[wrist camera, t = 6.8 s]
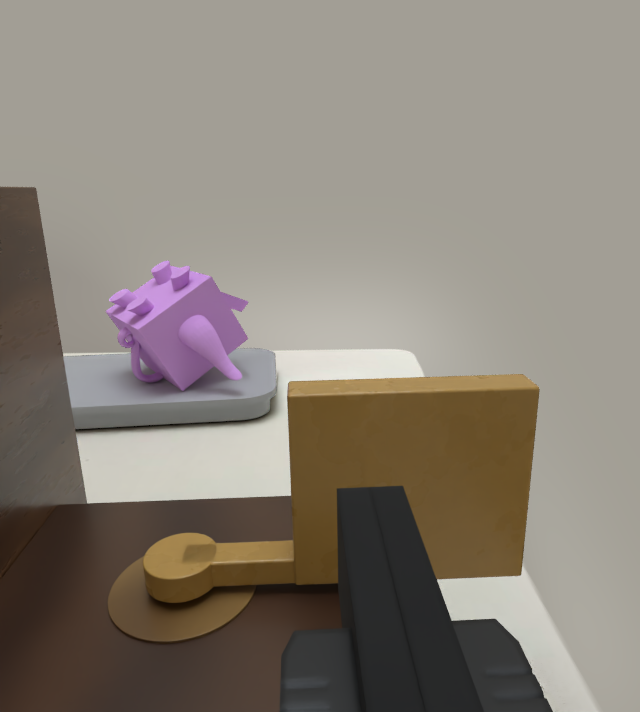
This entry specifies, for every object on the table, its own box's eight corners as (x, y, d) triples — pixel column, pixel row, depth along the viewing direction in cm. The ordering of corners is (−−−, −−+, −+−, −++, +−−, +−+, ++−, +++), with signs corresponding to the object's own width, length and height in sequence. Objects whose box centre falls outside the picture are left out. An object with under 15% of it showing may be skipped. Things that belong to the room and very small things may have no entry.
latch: (502, 542, 21) (517, 367, 19) (529, 588, 19) (549, 394, 17) (156, 556, 21) (133, 379, 19) (136, 605, 18) (108, 408, 16)
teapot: (174, 234, 60) (218, 307, 65) (68, 305, 55) (125, 377, 60) (258, 248, 46) (305, 338, 51) (127, 344, 41) (194, 433, 46)
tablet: (44, 376, 62) (41, 357, 61) (275, 365, 64) (274, 346, 63) (-31, 438, 47) (-36, 413, 46) (277, 421, 49) (276, 396, 48)
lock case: (354, 560, 30) (353, 180, 25) (426, 1044, 13) (478, 153, 7) (61, 572, 30) (-10, 188, 24) (-262, 1089, 13) (-775, 179, 7)
